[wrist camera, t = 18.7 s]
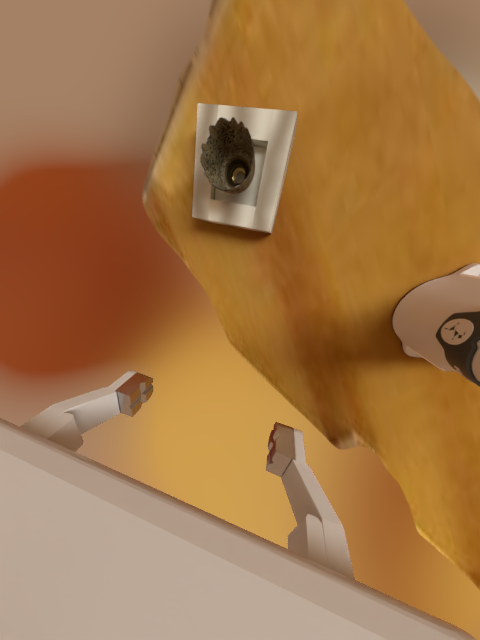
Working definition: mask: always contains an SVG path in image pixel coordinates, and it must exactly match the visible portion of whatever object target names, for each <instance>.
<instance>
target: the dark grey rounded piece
mask: <svg viewBox="0 0 480 640" xmlns="http://www.w3.org/2000/svg"><path fill="white" fill-rule="evenodd" d="M209 133H210V136H209V138H207V142H206V144H205V143H204V142H203V143H202V145H201V148H202V151H203V152H202V153H201V157H200V162H201V164H202V167H203V169H204V171H205V172H204V175H205V176H206V177H207V178H208V179H209V183H210V184H211V185H213V186H214V187H215V188H217V189H219V190H221V191H223V192H226V193H228V194H239V193H242V192H244V191H245V190H246V189H247V188H248V187H249V186H250V184H251V182H252V180H253V177H254V173H255V153H254V143H253V139H251V135H250V133H249V130H248V128H247V127H245V125H244V123H243V122H242V121H240V122H239V124H238V123H237V122H236V120H235V118H234V117H232V118H231V120H230V121H229V120H227V119H226V118H223V117H220V118H219V119H218V121H217V122H216V124H215V126H214V125H210V126H209ZM238 172H242V173H243V174H244V176H245V178H244V180H243V181H242V182H241V183H237V182H236V175H237V173H238Z"/></svg>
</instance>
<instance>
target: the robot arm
mask: <svg viewBox="0 0 480 640" xmlns="http://www.w3.org/2000/svg"><path fill="white" fill-rule="evenodd" d="M479 275H480V264H478V263H474V264H470V265H467V266H465V267H463V268H462V269H460V270H458V271H456V272H455V273H453V274H451V275H448V276H445V277H441V278H437V279H434V280H431V281H428V282H426V283H424V284H422V285H420V286H418V287H417V288H415V289H414V290H412V291H411V292H409V293H408V294H407V295H406V296H405V297H404V298H403V299H402V300H401V302H400V303H399V304H398V306H397V307H396V309H395V312H394V315H393V328H394V331H395V333H396V334H397V336H398V337H399V338H400V339H401V341H402V345H403V351H404V353H406V354H407V355H409V356H411V357H419V358H424V359H425V360H427V361H428V362H430V363H431V364H433V365H434V366H436V367H437V368H439V369H441V370H443V371H452V372H458V373H459V374H461V375H462V376H463V377H465V378H466V379H468V380H469V381H471V382H473V383H475V384H477V385H478V386H480V276H479ZM152 382H153V378H151V377H148V376H146V375H143V374H140V373H138V372H135V371H132V370H130V371H128V372H127V373H125V374H124V375H123V376H121V377H120V378H119V379H118V380H116V381H115V382H114V383H113V384H111V385H110V386H109V387H107V388H106V387H104V388H101V389H98V390H95V391H92V392H89V393H86V394H83V395H80V396H77V397H74V398H71V399H68V400H65V401H62V402H60V403H56V404H53V405H51V406H50V407H48V408H47V409H45V410H44V411H43V412H41V413H40V414H38V415H37V416H35V417H34V418H32V419H31V420H29V421H28V422H26V423H25V424H23V425H22V426H20V427H19V426H17V425H15V424H13V423H10V422H8V421H6V420H4V419H2V418H0V640H476V639H475V638H474V637H473V636H472V635H470V634H469V633H467V632H466V631H464V630H462V629H460V628H458V627H457V626H455V625H452V624H450V623H448V622H446V621H444V620H441V619H439V618H437V617H435V616H432V615H430V614H428V613H426V612H423V611H421V610H419V609H417V608H415V607H413V606H410V605H408V604H406V603H404V602H402V601H400V600H397V599H395V598H393V597H391V596H389V595H386V594H384V593H382V592H380V591H378V590H376V589H373V588H371V587H369V586H367V585H365V584H363V583H360V582H358V581H356V580H355V579H354V574H353V569H352V565H351V560H350V555H349V551H348V546H347V541H346V536H345V532H344V528H343V526H342V524H341V522H340V520H339V519H338V517H337V515H336V513H335V511H334V509H333V508H332V506H331V504H330V502H329V501H328V499H327V497H326V495H325V494H324V492H323V490H322V488H321V486H320V485H319V483H318V481H317V479H316V477H315V476H314V474H313V472H312V470H311V468H310V466H309V465H307V464H306V458H305V448H304V439H303V433H302V431H300V430H297V429H294V428H292V427H289V426H286V425H283V424H280V423H277V422H276V423H275V424H274V430H272V431H271V433H270V437H269V442H268V449H269V454H268V456H267V467H266V470H267V471H268V472H271V473H273V474H276V475H278V476H280V477H282V482H283V484H284V487H285V490H286V493H287V496H288V498H289V501H290V504H291V507H292V510H293V513H294V516H295V518H296V521H297V524H298V525H297V527H296V528H295V529H294V530H293V531H292V532H291V533H290V534H289V535H288V549H286V548H284V547H282V546H280V545H277V544H275V543H273V542H271V541H268V540H266V539H264V538H262V537H260V536H258V535H255V534H253V533H251V532H249V531H247V530H245V529H242V528H240V527H238V526H236V525H234V524H231V523H229V522H227V521H225V520H223V519H221V518H218V517H216V516H214V515H212V514H210V513H207V512H205V511H203V510H201V509H199V508H197V507H194V506H192V505H190V504H188V503H185V502H183V501H181V500H179V499H177V498H175V497H172V496H170V495H168V494H166V493H164V492H162V491H159V490H157V489H155V488H153V487H151V486H148V485H146V484H144V483H142V482H140V481H137V480H135V479H133V478H131V477H129V476H127V475H124V474H122V473H120V472H118V471H115V470H113V469H111V468H109V467H107V466H105V465H102V464H100V463H98V462H96V461H94V460H92V459H89V458H87V457H85V456H83V455H81V454H78V453H76V451H77V450H78V449H79V448H80V447H81V446H82V444H83V439H82V436H81V434H83V433H84V432H86V431H88V430H90V429H92V428H94V427H95V426H97V425H99V424H101V423H103V422H105V421H107V420H108V419H110V418H112V417H114V416H116V415H118V414H120V413H123V414H126V415H129V416H131V417H133V416H134V415H135V414H136V413H137V411H138V410H139V409H140V408H141V404H142V403H144V402H146V401H147V400H148V399H149V398H150V396H151V395H152V392H153V386H152V384H151V383H152Z"/></svg>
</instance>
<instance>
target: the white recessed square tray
mask: <svg viewBox="0 0 480 640" xmlns="http://www.w3.org/2000/svg"><path fill="white" fill-rule="evenodd" d="M220 117H223V118H226V119H227V120H229V121H230V120H231V118H232V117H234V118H235V120H236V122H237V123H238V124H239V122H240V121H242V122H243V123H244V125H245V127H247V128H248V130H249V133H250V135H251V139H253V143H254V153H255V173H254V177H253V180H252V182H251V184H250V186H249V187H248V188H247V189H246V190H245V191H244V192H242V193H239V194H228V193H226V192H223V191H221V190H219V189H217V188H215V187H214V186H213V185H211V184H210V183H209V179H208V178H207V177H206V176H205V175H204V172H205V171H204V169H203V167H202V164H201V162H200V157H201V153H202V152H203V151H202V148H201V145H202V143H203V142H204V143H205V144H206V142H207V138H209V136H210V133H209V126H210V125H214V126H215V124H216V122H217V121H218V119H219V118H220ZM296 123H297V112H296V111H285V110H273V109H261V108H249V107H237V106H225V105H213V104H201V103H198V111H197V131H196V150H195V169H194V189H193V208H192V217H193V218H196V219H199V220H202V221H207V222H212V223H217V224H223V225H228V226H233V227H238V228H244V229H249V230H254V231H259V232H264V233H270V234H272V230H273V226H274V222H275V218H276V213H277V209H278V205H279V201H280V196H281V192H282V188H283V183H284V179H285V175H286V171H287V166H288V162H289V158H290V154H291V149H292V145H293V141H294V137H295V132H296ZM244 178H245V176H244V174H243V173H242V172H238V173H237V175H236V182H237V183H241V182H242V181H243V180H244Z"/></svg>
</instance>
